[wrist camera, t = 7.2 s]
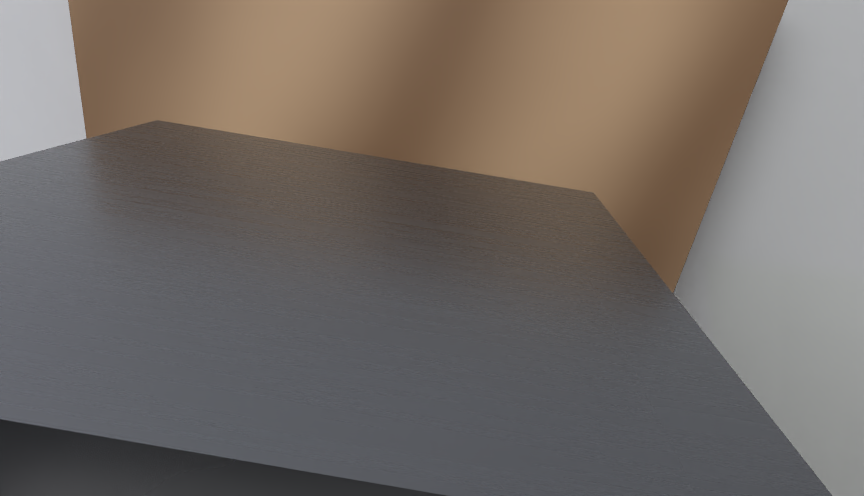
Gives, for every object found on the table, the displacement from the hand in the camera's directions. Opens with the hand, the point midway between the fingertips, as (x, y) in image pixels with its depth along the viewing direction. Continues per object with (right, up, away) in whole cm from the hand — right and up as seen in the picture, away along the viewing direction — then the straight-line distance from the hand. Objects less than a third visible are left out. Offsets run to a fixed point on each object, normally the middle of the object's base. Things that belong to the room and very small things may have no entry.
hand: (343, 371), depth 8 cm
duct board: (0, +2, +5) cm, 5 cm away
